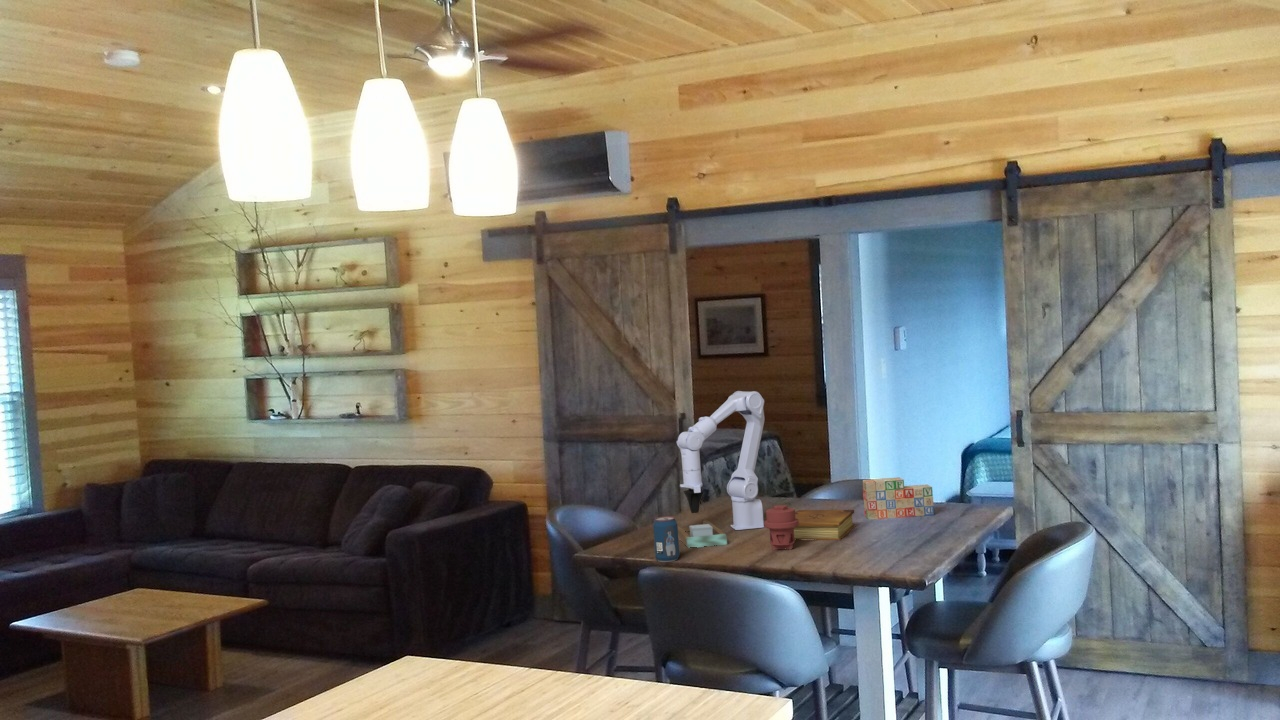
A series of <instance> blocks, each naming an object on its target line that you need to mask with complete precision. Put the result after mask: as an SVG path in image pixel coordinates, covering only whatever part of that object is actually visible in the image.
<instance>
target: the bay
mask: <svg viewBox="0 0 1280 720" xmlns="http://www.w3.org/2000/svg"><path fill="white" fill-rule="evenodd" d="M702 524H709V525H710V526H712V527H713V529H712V532H713V535H707V536H697V537H691V536H690V534H688V532H690V528H689V527H680V525H678V524H677V527H678V541H680V540H681V541H682V542H683V543H684V544H685V545H686V546H687V547H688V548H687V547H686V546H685V545H684V544H683V543H682V542H681V541H680V542H681V543H682V544H683V545H684V546H685V547H686V548H687V549H691V548H690V547H697V548H705V547H704V546H707V547H714V545H715V546H716V545H717V546H726V545H728V539H727V538H728V537H727V535H728V534H726V532H724V531H722V530H721V528H719V527H718V526H716V525H714V524H713V523H712V522H711V521H709V520H708V519H706V520H705V519H704V520H703V521H702ZM685 531H686V532H685Z"/></svg>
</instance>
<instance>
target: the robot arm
mask: <svg viewBox="0 0 1280 720" xmlns="http://www.w3.org/2000/svg"><path fill="white" fill-rule="evenodd" d="M764 405H765V398H763V397H762V395H761V394H760V392H758V391H757V390H756V391H755V390H754V391H741V390H737V391H734V393H732V394H730V395H729V396H728V398H727V400H726V401H725V402H723V404H721V405H720V406H719V407H718V409H716V410H715V411H714V412H713V413H712V414H711V415H710V416H701V417H699V418H698V422H696V423H695V424H694V425H693V426H689V427H688V430H687V431H682V432H681V433H680V434H679V435H678V437H677V440H676V445H677V447H678V448H679V450H680V454H681V466H682V478H683V479H682V480H683V481H682V482H683V483H682V484H681V483H680V484H679V487H680V488H686V490H683V493H684V495H685V497H686V500H687V503H688V506H689V507H688V508H689V510H690V512H691V514H699V511H700V506H701V500H702V496H703V494H704V490H703V489H702V487H703V481H702V480H703V479H702V468H701V458H700V457H701V456H700V449H701V448H702V446H703V443H704V441H706V439H708V438H709V437H710V436H711V435H712V434H713V433H715V432H716V431H717V425H719V423H721V422H722V421H724V420H725V419H726V418H728V417H729V416H730V415H732V414H733V413H735V412H737V413H739V414H740V415H742V417H743V418H744V420H745V422H746V424H745V429H744V430H745V431H744V436H743V439H742V444H741V449H740V455H739V459H738V464H737V468H736V470H734V471H733V472H732V474H731V477H730V479H729V481H728V482H727V485H726V492H727V494H728V495H729V497H730V500H731V505H732V506H731V507H732V518H733V519H732V521H733V524H730V527H731V528H732V529H733V530H735V531H740V530H752V529H760V528H762V529H763V528H765V527H764V511H763V503H762V500H761V499H760V498H757V496H758V495H759V494H758V492H759V485H758V482H759V478H758V476H757V475H756V473H755V470H756V464H757V460H758V455H759V449H760V444H761V440H762V434H763V429H764V424H765V411H764Z"/></svg>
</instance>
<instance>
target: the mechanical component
mask: <svg viewBox="0 0 1280 720" xmlns="http://www.w3.org/2000/svg"><path fill="white" fill-rule="evenodd" d="M795 512H796V509H795V508H793V507H788V505H785V504H779V505H774V506H773V507H771V508H768V509H766V511H765V513H766V515H765V516H766V520H763V523H764V527H763V528H766V529H769V541H770V545H771V550H772V549H782V550H785V548H786V549H792V548H793V549H794V544H795V542H796V540H795V538H794V527H797V526H798V525H799V520H798V519H796V518H795ZM793 549H792V550H793Z"/></svg>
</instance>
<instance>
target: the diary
mask: <svg viewBox="0 0 1280 720" xmlns="http://www.w3.org/2000/svg"><path fill="white" fill-rule="evenodd" d="M854 514H855V509H798V510H795V518H796V519H798V520H799V525H798V526H797V527H794V538H795V539H814V540H813V541H830V540H840V539H841V538H842V539H844V538H845V537H846V536H847V534H849V533H850V531H852V530H853V529H854V528H855V527H856V524H853V515H854ZM852 528H853V529H852ZM851 529H852V530H851ZM815 539H816V540H815ZM817 539H818V540H817ZM842 539H841V540H842ZM841 540H840V541H841Z"/></svg>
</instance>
